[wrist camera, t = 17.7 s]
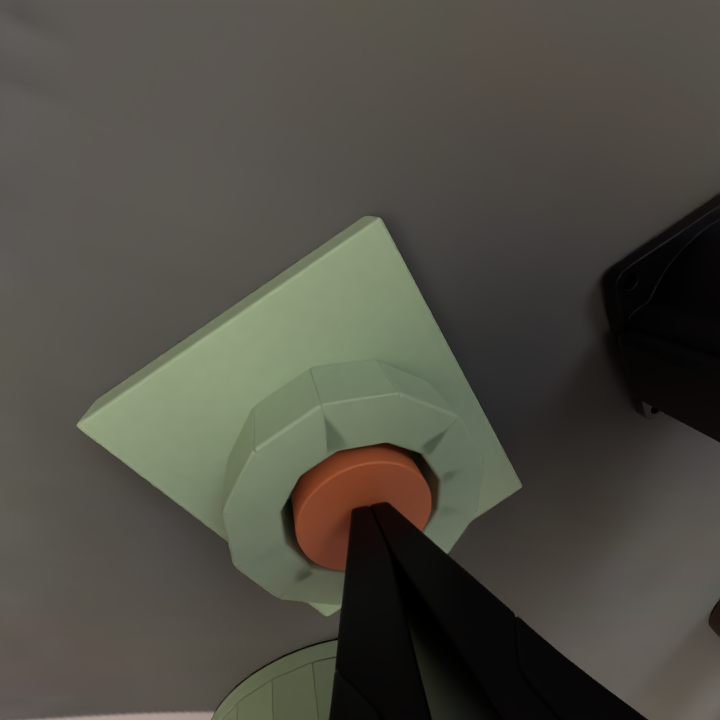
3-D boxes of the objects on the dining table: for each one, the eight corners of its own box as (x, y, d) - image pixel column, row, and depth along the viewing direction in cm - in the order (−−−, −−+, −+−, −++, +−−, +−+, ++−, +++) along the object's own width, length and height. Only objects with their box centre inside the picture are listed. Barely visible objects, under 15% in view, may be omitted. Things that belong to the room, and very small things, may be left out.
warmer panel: (366, 213, 9) (412, 220, 6) (503, 464, 14) (563, 530, 11) (95, 399, 9) (27, 483, 6) (321, 586, 14) (336, 680, 11)
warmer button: (370, 395, 9) (392, 435, 8) (424, 472, 11) (453, 518, 9) (263, 467, 9) (265, 521, 8) (332, 534, 11) (345, 590, 9)
